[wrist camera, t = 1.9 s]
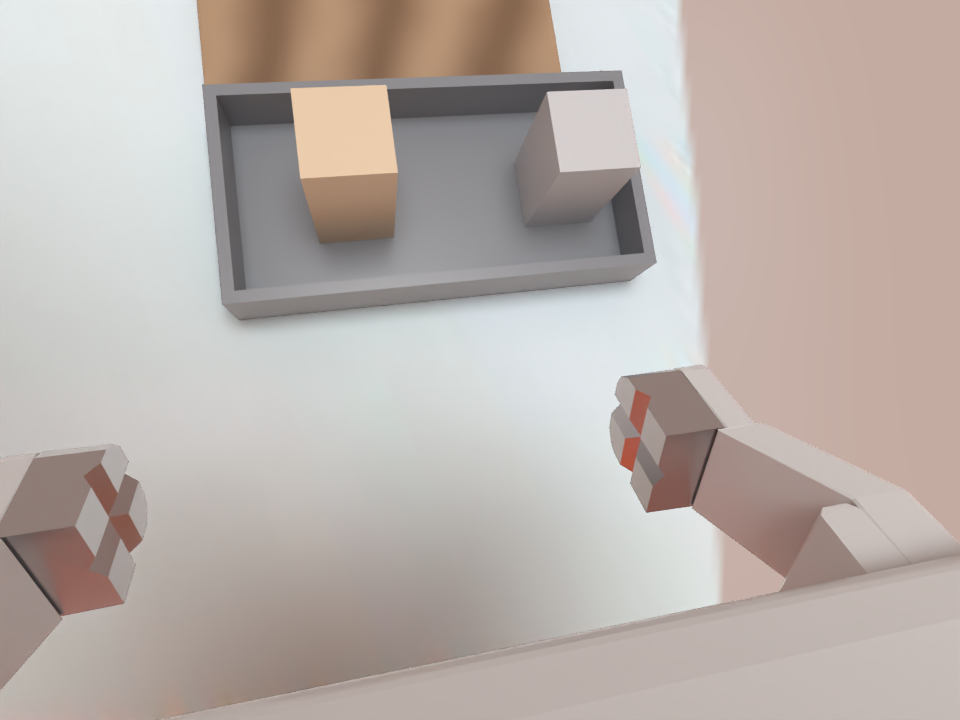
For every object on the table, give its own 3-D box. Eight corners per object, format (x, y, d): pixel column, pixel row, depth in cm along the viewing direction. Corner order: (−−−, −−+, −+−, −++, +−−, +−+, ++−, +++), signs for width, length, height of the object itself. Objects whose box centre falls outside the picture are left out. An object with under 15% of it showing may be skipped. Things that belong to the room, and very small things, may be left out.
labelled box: (319, 243, 32) (300, 178, 25) (311, 171, 33) (289, 84, 25) (394, 237, 33) (397, 172, 25) (384, 166, 34) (385, 81, 26)
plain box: (524, 227, 35) (560, 172, 28) (514, 161, 35) (546, 91, 28) (590, 221, 35) (640, 167, 28) (579, 157, 36) (626, 88, 29)
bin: (239, 319, 32) (222, 304, 28) (220, 122, 33) (202, 84, 30) (630, 280, 36) (656, 262, 32) (599, 105, 37) (621, 70, 34)
